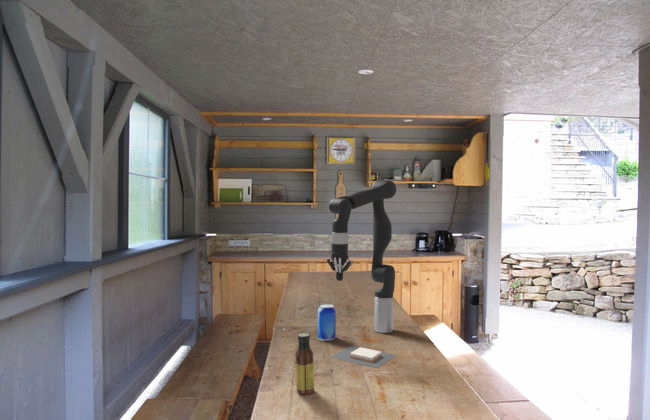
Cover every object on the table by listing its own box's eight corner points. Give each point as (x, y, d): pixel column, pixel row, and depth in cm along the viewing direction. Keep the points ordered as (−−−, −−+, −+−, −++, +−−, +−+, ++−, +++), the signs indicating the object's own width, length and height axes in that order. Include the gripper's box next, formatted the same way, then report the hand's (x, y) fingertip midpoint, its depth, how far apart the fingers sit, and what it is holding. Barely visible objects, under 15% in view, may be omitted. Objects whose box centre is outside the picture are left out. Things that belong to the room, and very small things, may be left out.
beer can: (320, 342, 212) (320, 308, 212) (315, 337, 220) (315, 304, 220) (337, 341, 215) (338, 307, 214) (332, 336, 223) (332, 303, 222)
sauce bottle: (314, 387, 163) (314, 331, 162) (314, 395, 156) (314, 337, 156) (295, 388, 162) (295, 331, 162) (295, 395, 156) (295, 337, 156)
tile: (360, 347, 199) (381, 351, 194) (360, 351, 199) (381, 355, 194) (350, 353, 192) (371, 357, 186) (350, 357, 192) (371, 362, 186)
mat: (351, 347, 207) (351, 345, 207) (396, 356, 195) (396, 355, 195) (329, 358, 192) (329, 357, 192) (377, 369, 180) (377, 368, 180)
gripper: (356, 242, 210) (356, 280, 210) (331, 241, 217) (331, 277, 217) (348, 244, 203) (348, 283, 204) (323, 242, 210) (322, 280, 211)
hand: (339, 280), depth 211 cm, fingers closed
